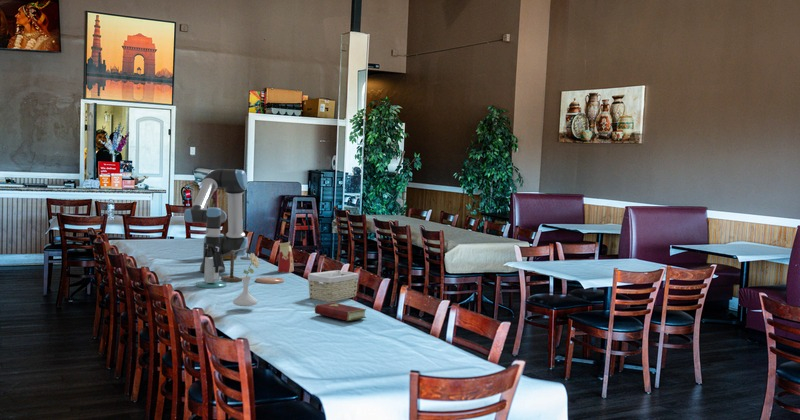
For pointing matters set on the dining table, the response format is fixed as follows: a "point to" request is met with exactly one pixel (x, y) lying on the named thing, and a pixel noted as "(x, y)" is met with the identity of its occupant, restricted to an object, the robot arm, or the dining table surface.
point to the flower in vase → (245, 296)
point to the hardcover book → (340, 311)
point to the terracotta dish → (269, 280)
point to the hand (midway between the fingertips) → (211, 277)
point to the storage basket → (332, 285)
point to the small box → (209, 271)
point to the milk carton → (285, 258)
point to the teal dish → (210, 285)
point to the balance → (231, 277)
